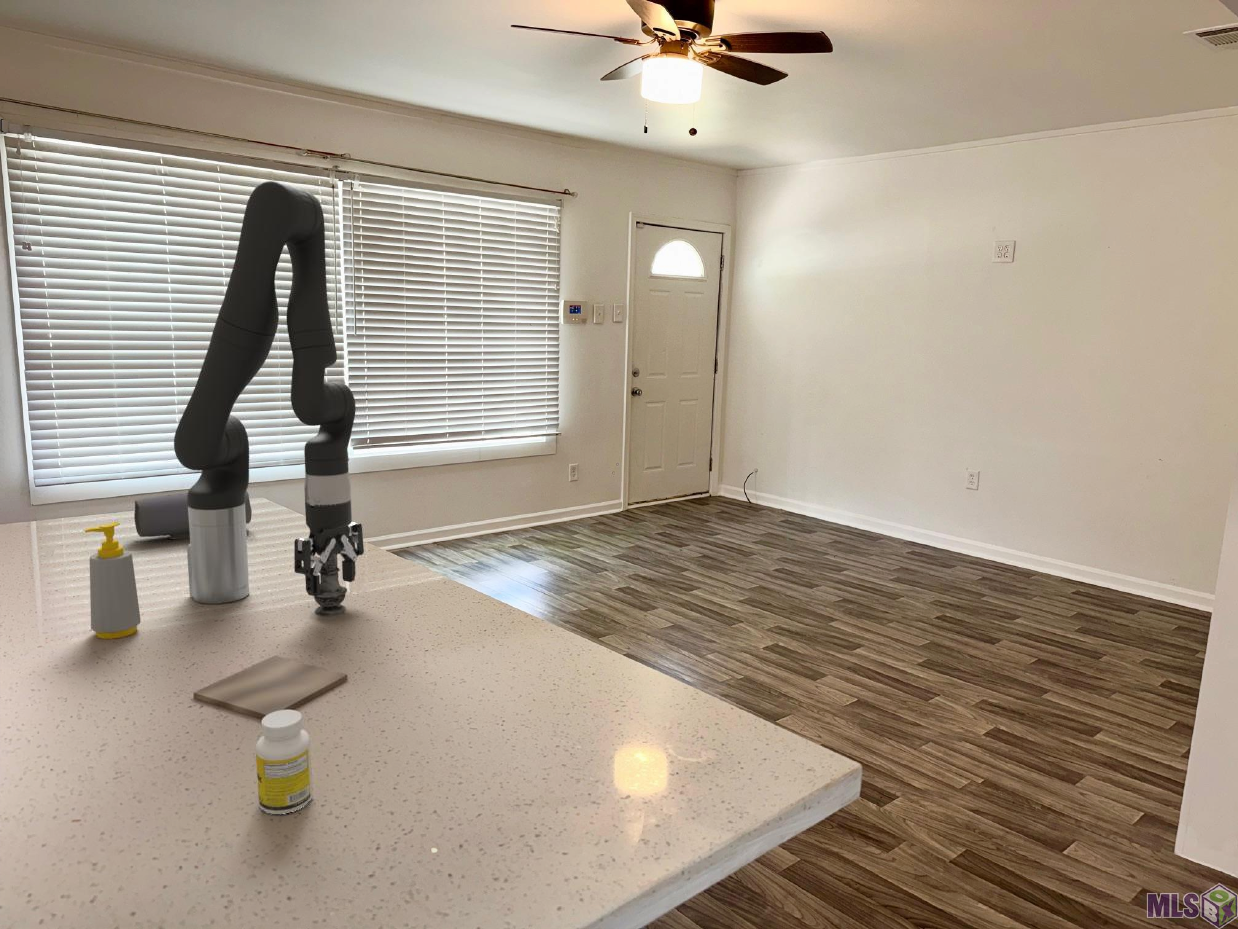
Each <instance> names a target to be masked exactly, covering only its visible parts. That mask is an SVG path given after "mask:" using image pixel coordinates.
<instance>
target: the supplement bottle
mask: <svg viewBox="0 0 1238 929" xmlns="http://www.w3.org/2000/svg"><path fill="white" fill-rule="evenodd" d="M260 724H261V735H262V736H261V737H260V738H259V739H258V740H257V742H256V745H255V759H256V760H255V762H256V778H257V789H258V790H257V792H258V794H257V795H258V805H259V808H260V807H261V808H260V809H261V811H263V810H264V811H265V812H268V813H272V814H283V813H288V812H292V811H295V810H298V809H300V808H301V807H303V806H305V805H306V804H307V803H308V802H309V801H310V802H311V800H312V799H313V794H314V793H313V790H314V789H313V774H312V773H313V772H312V768H313V767H312V752H311V751H312V749H311V737H310V735H309V734H308V732H307V731H306V730H304V729H303V715H302V713H301V712H300V711H298V710H296V709H293V710H280V711H275V712H272V713H270V714H268V715H266V716H265V717H264V718H263V719H261V723H260ZM311 798H312V799H311ZM310 802H309V803H310ZM309 803H308V804H309ZM308 804H307V805H308ZM307 805H306V806H307ZM306 806H305V807H306ZM303 808H304V807H303ZM300 810H301V809H300ZM264 811H263V812H264ZM298 811H299V810H298ZM265 812H264V813H265ZM268 813H267V814H268ZM272 814H271V815H272Z"/></svg>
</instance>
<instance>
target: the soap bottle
mask: <svg viewBox="0 0 1238 929" xmlns="http://www.w3.org/2000/svg"><path fill="white" fill-rule="evenodd" d="M120 523H121V522H118V521H117V522H112V523H109V524H104V525H100V526H93V527H88V528H86V529H84V532H85V533H93V532H94V533H95V532H96V533H103V535H104V537H106V538H105V539H106V540H103V541H101V547H98V548H97V552H95V553H93V554H91V555H90V556H89V591H90V594H89V597H90V598H89V599H90V629H91V630H92V631H94V633H95V635H96V637H97V638H99V639H104V640H106V639H107V640H110V639H111V640H112V639H121V638H123V637H128V636H129V635H133V634H134V633H136V631H137V629H138V625H140V624H141V622H142V621H141V618H142V617H141V611H140V606H139V599H138V589H137V583H136V575H135V574H136V573H135V567H134V560H133V559H134V558H133V553H132V552H131V551H130V550H126V549H124V547H123V546H122V545H119V540H117V539H114V536H115V527H118V526H119V525H121V524H120Z"/></svg>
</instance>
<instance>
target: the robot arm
mask: <svg viewBox="0 0 1238 929" xmlns="http://www.w3.org/2000/svg"><path fill="white" fill-rule="evenodd" d="M325 227H326V226H325V218H324V211H323V208H322V204H321V203H320V201H319V199H318V198H317V197H316V196H315V195H314V194H313V193H311V192H309V191H307V190H305V189H302V188H299V187H297V186H293V185H289V184H288V183H287V184H286V183H283V182H280V181H276V180H275V181H274V180H267V181H263V182H261V183H259V184H258V185H257V186H256V187H255V188H254V189H253V191H252V192H251V194H250V196H249V197H248V201H247V203H246V207H245V210H244V215H243V220H242V224H241V229H240V230H241V231H240V235H239V242H238V245H237V249H236V250H237V251H236V255H235V259H234V263H233V267H232V269H231V274H230V276H229V277H230V278H229V280H228V284H227V288H226V292H225V295H224V298H223V301H222V304H221V307H220V309H219V311H218V315H217V318H216V320H215V324H214V327H213V330H212V333H211V336H210V337H211V338H210V342H209V344H208V348H207V351H206V354H205V357H204V360H203V364H202V365H201V369H200V372H199V375H198V378H197V380H196V383H195V387H194V389H193V391H192V394H191V396H190V399H189V400H188V402H187V405H186V407H185V409H184V411H183V414H182V416H181V418H180V420H179V423H178V424H177V427H176V429H175V434H174V438H173V448H174V453H175V457H176V458H177V461H178V462H179V463H180V464H181V465H182V466H183V467H184V468H186V469H187V470H190V471H191V470H192V471H201V473H200V476H199V478H198V480H197V481H196V482H195V483H194V484H193V485H192V486H191V488H189V490H188V491H187V493H188V495H187V500H188V516H189V531H190V537H189V544H188V545H187V546H186V554H187V555H186V556H187V557H186V558H187V570H188V573H187V574H188V585H189V587H188V588H189V596H190V597H192V598H193V600H194V601H195V602H197V603H201V604H210V605H211V604H225V603H231V602H236V601H239V600H242V599H243V598H246V597H247V596H249V594H250V584H249V583H250V582H249V559H248V558H249V557H248V539H247V538H248V536H247V524H246V515H245V493H246V491H248V490H247V489H248V487H249V483H250V442H249V436H248V432H247V430H246V428H245V425H244V424H243V422H242V421H240V419H239V418H237V417H236V416H234V415H231V412H232V410H233V407H234V405H235V403H236V401H237V400H238V398H239V396H240V395H241V394H242V392H243V391H244V390H245V388H246V387H247V386H248V385H249V384H250V382H251V381H252V380H253V379H254V378H255V376H256V375H257V373H259V371H260V370H261V368H262V367H263V366H264V364H265V362H266V360H267V358H268V356H269V354H270V351H271V349H272V345H273V342H274V340H275V336H276V334H277V331H278V328H279V327H278V326H279V320H280V319H279V318H280V317H279V316H280V315H279V305H278V304H279V303H278V297H277V292H276V273H277V269H278V264H279V261H280V258H281V255H282V252H283V250H284V248H285V246H286V248H287V251H288V254H289V257H290V261H291V263H290V264H291V270H292V272H291V273H292V275H291V276H292V277H291V278H292V279H291V287H290V291H289V292H290V293H289V296H288V302H287V308H286V326H287V335H288V338H289V345H290V350H291V354H292V357H293V358H292V359H293V362H292V371H291V384H290V403H291V408H292V410H293V413H294V414H295V416H296V418H297V419H298V420H299V421H300V422H301V423H302V424H305V425H307V426H313V427H314V426H315V427H316V426H319V428H318V429H319V430H318V433H317V434H316V435H315V436H314V437H312V438H310V439H308V441H306V443H305V444H304V449H303V452H304V455H303V456H304V471H305V472H304V477H305V478H304V486H303V487H304V506H305V507H304V510H305V525H306V526H307V527H308V529H309V535H308V537H306V538H298V537H297V538H295V539H294V542H293V543H294V545H293V546H294V549H293V551H294V553H293V554H294V557H293V558H294V560H293V561H294V573H296V574H302V575H304V577H305V592H306V593H307V594H308V596H312V597H314V596H318V595H320V582H321V580H320V573H319V571H320V569H321V566H322V564H324V563H325V562H326V560H327V558H328V557H331V556H332V555H333V554H337V555H339V556H340V557H341V559H342V560H341V567H342V568H341V569H342V570H341V571H342V572H341V574H342V576H341V577H342V580H343V581H344V582H348V583H352V582H354V581H355V578H356V574H357V573H356V561H357V559H358V557H360V556H363V555H364V552H365V547H364V536H363V535H364V534H363V525H362V523H359V522H352V520H353V517H352V494H351V492H352V488H351V481H350V480H351V479H350V474H349V453H348V448H349V443H350V441H351V438H352V436H351V435H352V431H353V427H354V421H355V418H356V417H355V416H356V409H357V408H356V400H355V397H354V393H353V391H352V390H351V388H349V386H348V385H347V384H345V383H344V382H341V381H337V380H335V381H334V380H333V381H325V372H326V369H327V368H328V367H332V366H333V365H334V364H336V362H337V360H338V353H337V347H336V342H335V337H334V331H333V326H332V320H331V314H330V310H329V309H330V308H329V300H328V288H327V268H326V267H327V266H326V264H327V262H326V228H325ZM316 555H318V556H316Z"/></svg>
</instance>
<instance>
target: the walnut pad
mask: <svg viewBox="0 0 1238 929" xmlns="http://www.w3.org/2000/svg"><path fill="white" fill-rule="evenodd" d="M348 679H349V678H348V674H346V673H342V672H339V671H336V670H331V669H327V668H323V667H322V666H321V667H320V666H316V665H313V664H308V663H304V662H301V661H298V660H294V659H290V658H285V657H281V656H279V655H273V656H270V657H268V658H266V659H264V660H262V661H260V662H257V663H255V664H252V665H251V666H249V667H247V668H245V669H242V670H239V671H238V672H236V673H233V674H231V675H229V676H227V677H225V678H223V679H220V680H218V681H216V682H213V683H211V684H210V685H209V684H208V685H207V686H205V687H203V688H201V689H198V690H196V691H193V699H196V700H199V701H202V702H205V703H209V704H212V705H213V706H214V705H215V706H219V707H222V708H224V709H228V710H230V711H234V712H237V713H241V714H244V715H248V716H250V717H254V718H257V719H260V720H262V719H263V718H264V717H265V716H266V715H268V714H270V713H272V712H275V711H280V710H296V709H297V708H299V707H300V706H303V705H304V704H306V703H308V702H310V701H311V700H313V699H315V698H317V697H319V696H322V694H324V693H326V692H328V691H330V690H332V689H333V688H335V687H337V686H339V685H341V684H342V683H345V682H346V681H348Z"/></svg>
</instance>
